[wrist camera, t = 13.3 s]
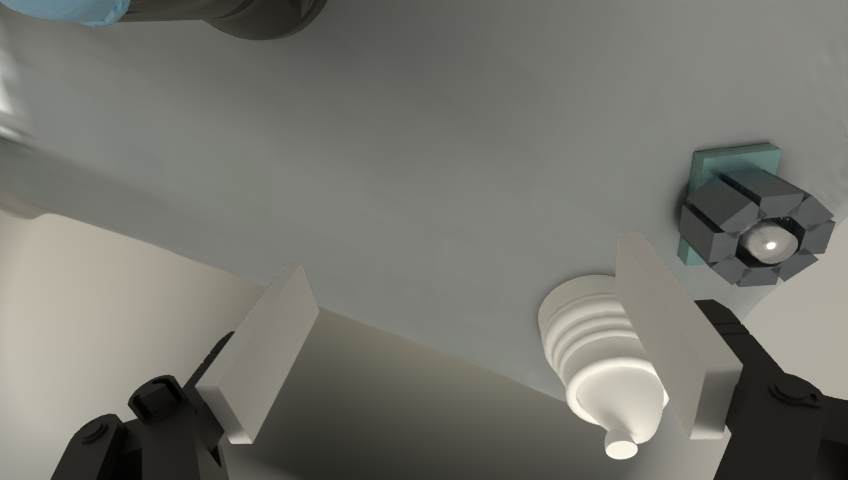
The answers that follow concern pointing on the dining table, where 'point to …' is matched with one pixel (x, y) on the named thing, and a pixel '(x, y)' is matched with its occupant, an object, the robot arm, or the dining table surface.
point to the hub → (741, 209)
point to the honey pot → (602, 362)
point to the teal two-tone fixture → (763, 236)
